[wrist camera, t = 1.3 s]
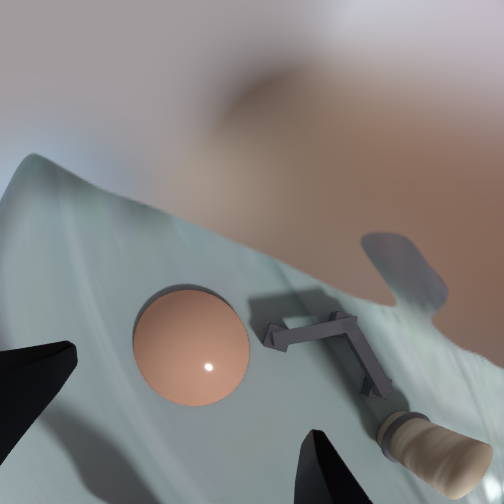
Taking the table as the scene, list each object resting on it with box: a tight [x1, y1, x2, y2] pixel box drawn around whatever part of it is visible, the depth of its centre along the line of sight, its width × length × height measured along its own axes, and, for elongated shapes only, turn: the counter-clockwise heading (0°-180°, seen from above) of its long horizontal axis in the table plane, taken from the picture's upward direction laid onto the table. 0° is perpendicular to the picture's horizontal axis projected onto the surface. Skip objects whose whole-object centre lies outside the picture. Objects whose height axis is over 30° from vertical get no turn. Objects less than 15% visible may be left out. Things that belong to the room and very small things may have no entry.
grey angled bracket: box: [262, 311, 393, 399], centre depth 22 cm, size 7×13×3 cm, turn 73°
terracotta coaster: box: [134, 290, 249, 406], centre depth 24 cm, size 11×11×1 cm
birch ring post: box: [377, 411, 493, 500], centre depth 15 cm, size 6×6×13 cm
